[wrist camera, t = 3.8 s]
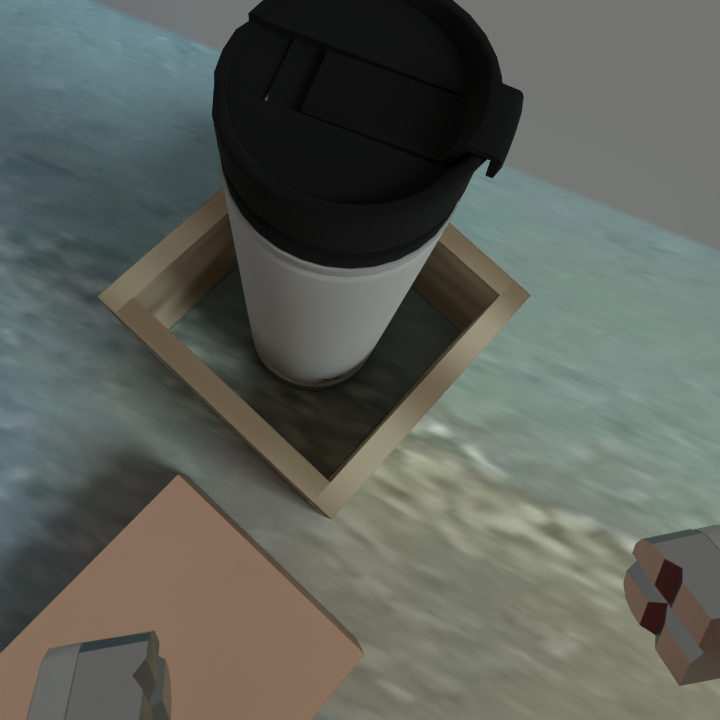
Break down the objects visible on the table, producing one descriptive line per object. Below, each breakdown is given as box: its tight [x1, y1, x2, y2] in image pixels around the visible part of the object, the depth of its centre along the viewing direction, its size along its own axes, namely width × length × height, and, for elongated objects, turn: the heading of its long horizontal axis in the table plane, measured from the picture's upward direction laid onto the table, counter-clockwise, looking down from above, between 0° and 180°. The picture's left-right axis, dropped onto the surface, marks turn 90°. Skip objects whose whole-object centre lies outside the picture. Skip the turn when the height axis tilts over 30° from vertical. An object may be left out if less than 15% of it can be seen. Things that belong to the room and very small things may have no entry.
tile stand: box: [0, 474, 364, 720], centre depth 26 cm, size 11×11×3 cm
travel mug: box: [212, 0, 523, 391], centre depth 22 cm, size 6×7×20 cm
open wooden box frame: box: [97, 187, 530, 519], centre depth 28 cm, size 13×13×6 cm
